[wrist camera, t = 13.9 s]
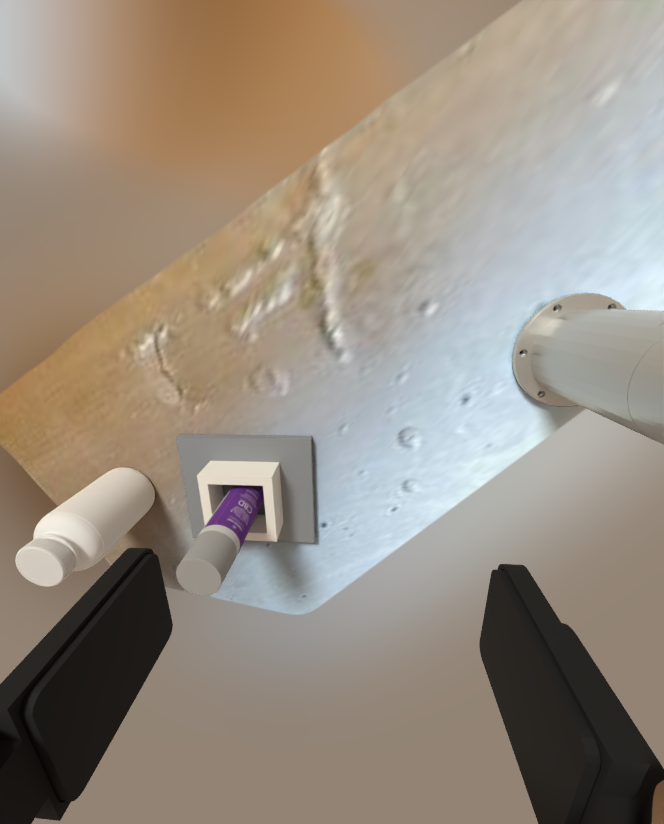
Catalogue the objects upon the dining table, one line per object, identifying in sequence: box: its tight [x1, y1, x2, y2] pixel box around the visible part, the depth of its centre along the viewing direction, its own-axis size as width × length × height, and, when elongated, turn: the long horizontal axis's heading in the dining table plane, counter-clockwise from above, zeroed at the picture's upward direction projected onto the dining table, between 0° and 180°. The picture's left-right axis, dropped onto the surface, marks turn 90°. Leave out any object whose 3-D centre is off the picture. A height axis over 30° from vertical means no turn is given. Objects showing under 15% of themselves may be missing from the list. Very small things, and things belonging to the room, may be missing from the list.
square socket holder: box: [176, 434, 315, 543], centre depth 45 cm, size 18×16×5 cm
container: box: [176, 485, 264, 596], centre depth 39 cm, size 5×5×15 cm
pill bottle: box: [16, 467, 155, 586], centre depth 42 cm, size 8×8×15 cm
